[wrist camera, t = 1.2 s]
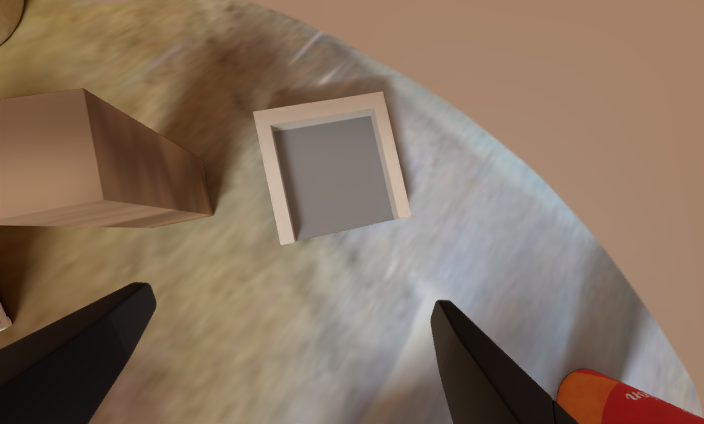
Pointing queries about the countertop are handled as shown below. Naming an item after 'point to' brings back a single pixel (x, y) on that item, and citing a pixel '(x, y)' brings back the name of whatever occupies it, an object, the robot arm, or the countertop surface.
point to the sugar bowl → (9, 17)
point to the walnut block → (92, 167)
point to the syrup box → (4, 319)
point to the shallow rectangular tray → (331, 166)
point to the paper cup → (615, 402)
